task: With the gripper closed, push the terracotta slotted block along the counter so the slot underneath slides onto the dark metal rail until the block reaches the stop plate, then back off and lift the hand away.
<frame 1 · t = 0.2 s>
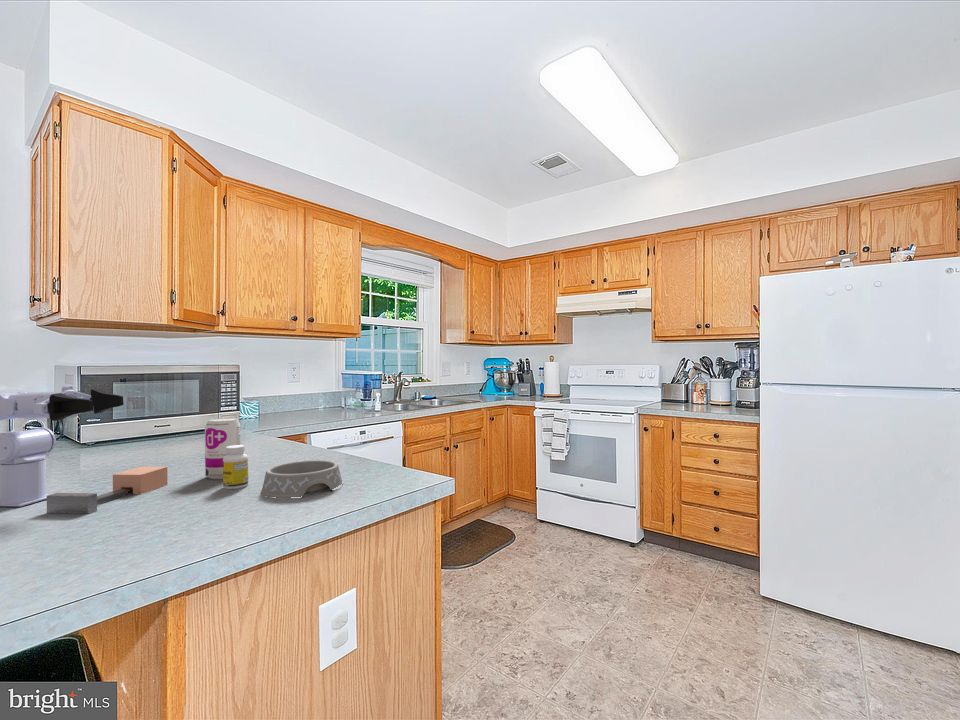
hand: (107, 402, 100), 21 cm above the table, tool horizontal, fingers open, 7 cm apart
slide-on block: (141, 489, 110), on the table
supplement can: (223, 476, 122), on the table
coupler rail: (103, 501, 100), on the table
dog bowl: (303, 489, 110), on the table
supplement bottle: (235, 487, 111), on the table
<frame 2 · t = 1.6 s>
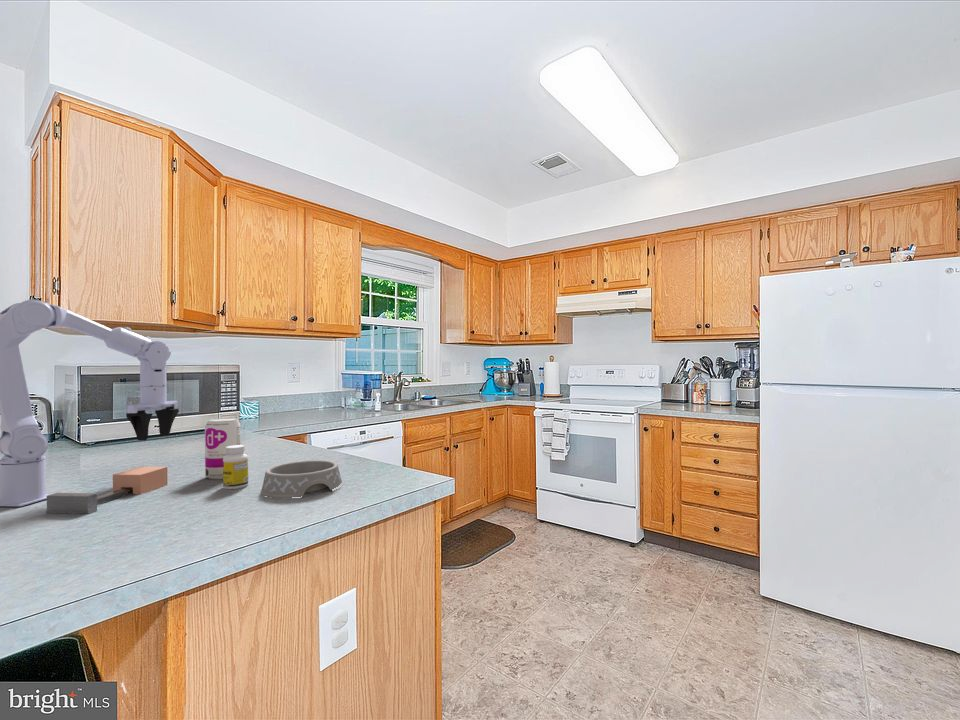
hand: (153, 437, 121), 10 cm above the table, tool pointing down, fingers open, 7 cm apart
nothing on the table moved.
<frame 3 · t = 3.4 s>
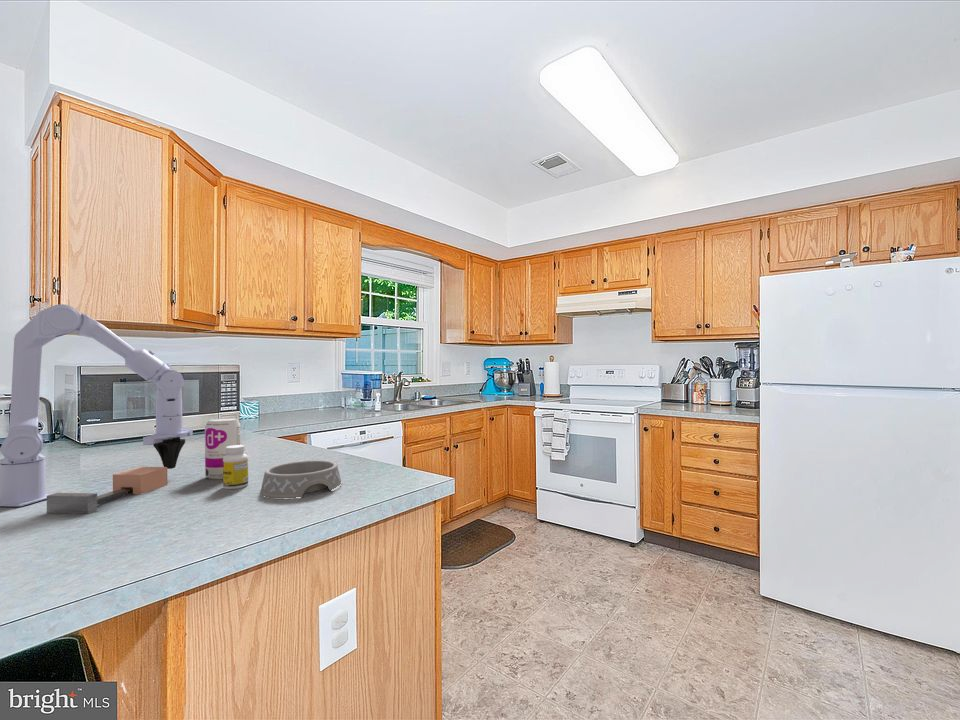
hand: (169, 468, 119), 3 cm above the table, tool pointing down, fingers closed
nothing on the table moved.
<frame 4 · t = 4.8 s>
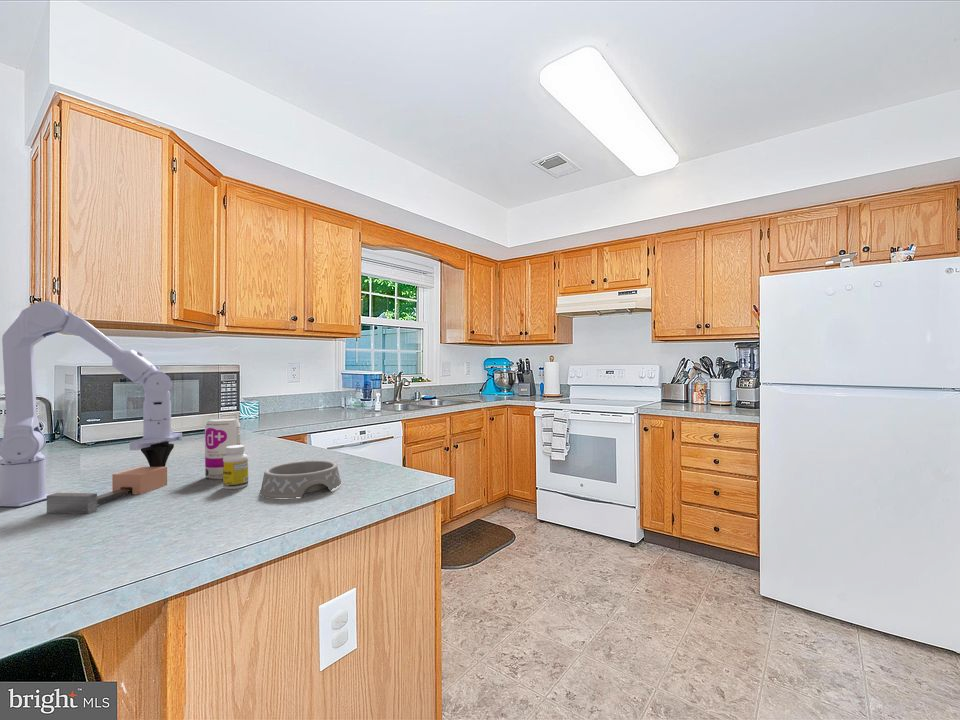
hand: (157, 473, 115), 2 cm above the table, tool pointing down, fingers closed
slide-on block: (140, 489, 110), on the table, touching gripper
everything else where it was.
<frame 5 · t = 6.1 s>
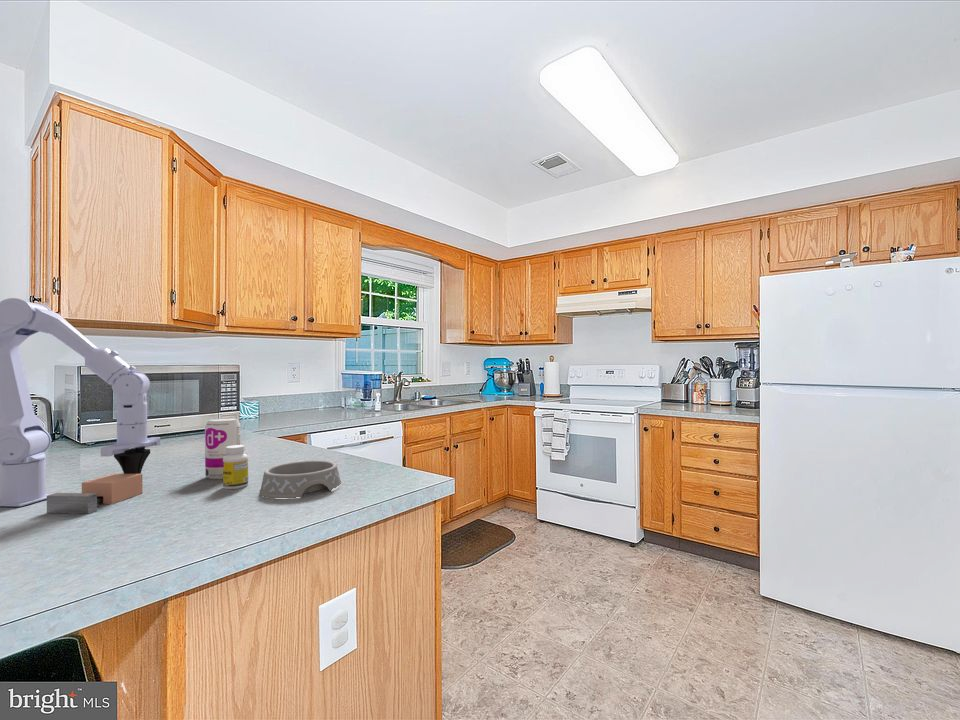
hand: (132, 481, 108), 2 cm above the table, tool pointing down, fingers closed
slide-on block: (113, 498, 102), resting in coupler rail, touching gripper
everything else where it was.
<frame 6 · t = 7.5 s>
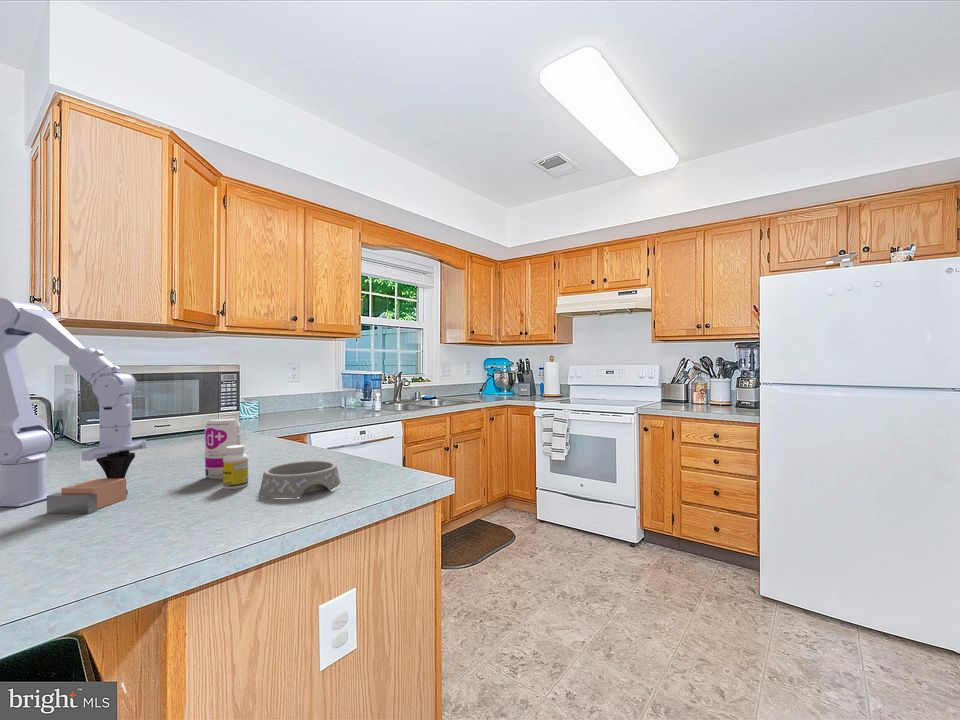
hand: (116, 486, 103), 2 cm above the table, tool pointing down, fingers closed
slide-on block: (95, 504, 98), resting in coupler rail, touching gripper
everything else where it was.
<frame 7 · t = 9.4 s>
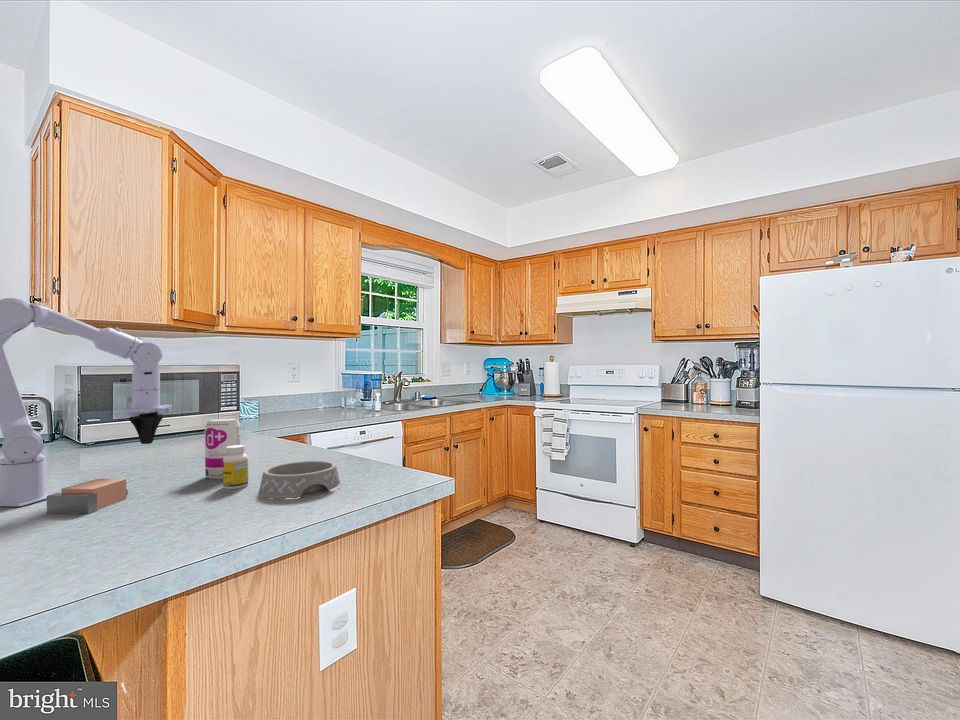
hand: (146, 443, 116), 10 cm above the table, tool pointing down, fingers closed
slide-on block: (95, 504, 98), resting in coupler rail
everything else where it was.
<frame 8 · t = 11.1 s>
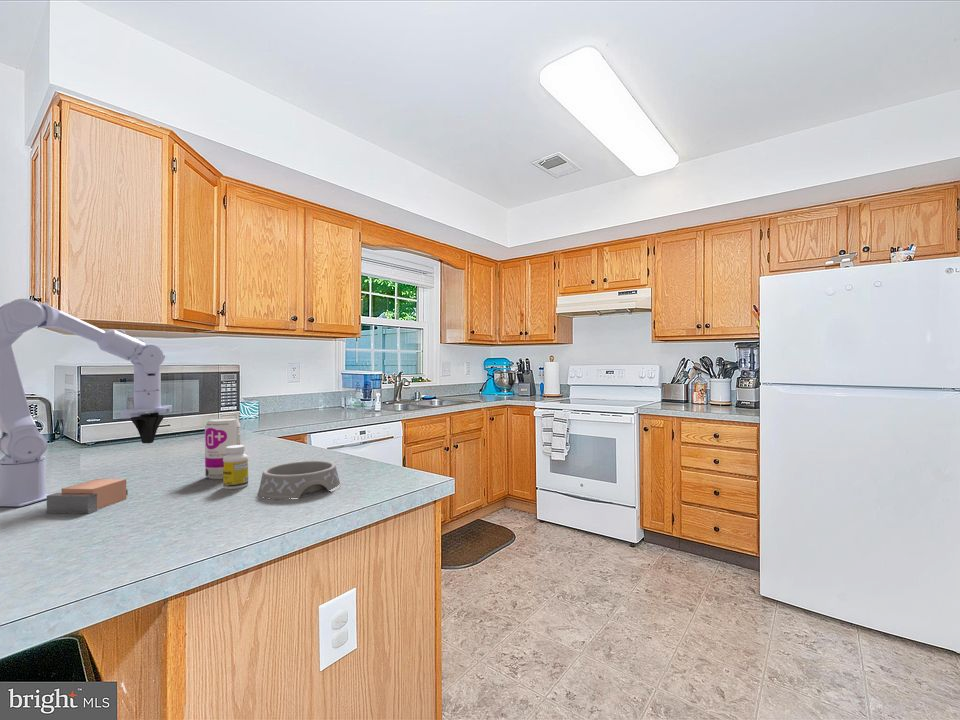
hand: (147, 442, 119), 9 cm above the table, tool pointing down, fingers closed
nothing on the table moved.
at the end: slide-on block 0.8 cm from the target spot on the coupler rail, point 0.0 cm above the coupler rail's base; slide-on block tilted 0° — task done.
